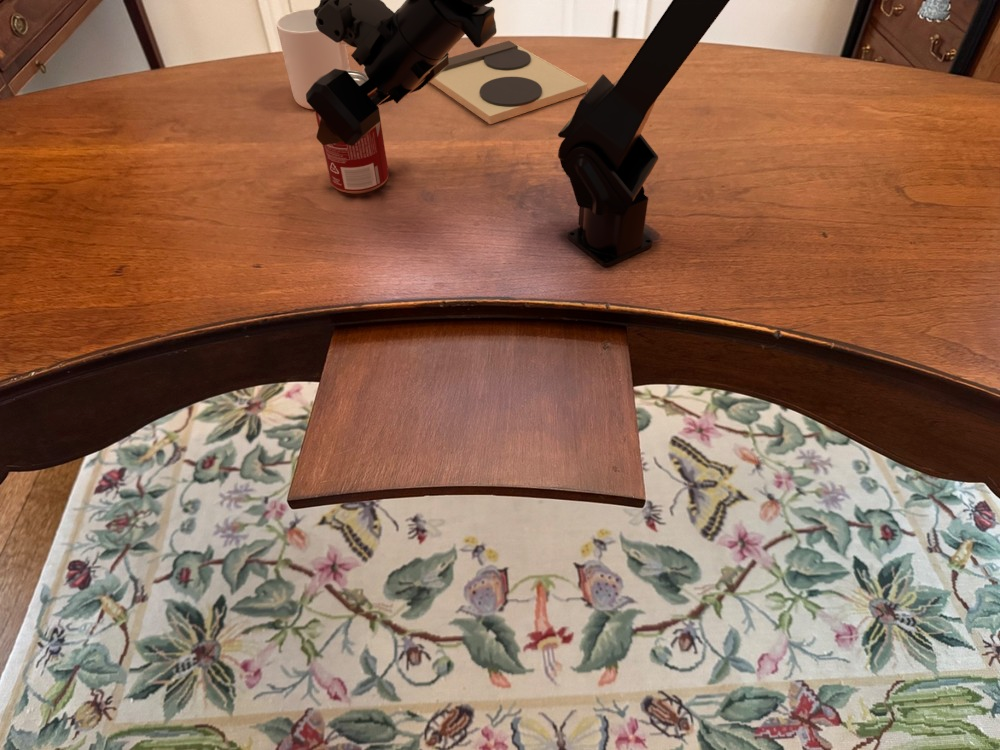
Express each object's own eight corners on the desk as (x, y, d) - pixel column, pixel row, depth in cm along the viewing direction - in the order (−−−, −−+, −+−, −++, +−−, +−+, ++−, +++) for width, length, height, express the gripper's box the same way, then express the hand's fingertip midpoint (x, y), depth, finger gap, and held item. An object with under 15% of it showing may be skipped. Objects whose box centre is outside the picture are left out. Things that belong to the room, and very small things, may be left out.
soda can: (385, 198, 81) (368, 94, 72) (326, 198, 81) (303, 95, 73) (392, 167, 86) (378, 66, 77) (337, 167, 86) (316, 68, 77)
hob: (587, 92, 98) (588, 79, 97) (490, 125, 92) (490, 112, 91) (513, 50, 109) (513, 38, 108) (422, 77, 103) (421, 64, 102)
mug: (387, 88, 101) (377, 11, 93) (368, 115, 95) (354, 35, 88) (308, 83, 103) (291, 6, 95) (284, 109, 97) (265, 30, 90)
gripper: (412, -70, 70) (339, 30, 82) (300, -10, 59) (233, 98, 70) (487, 24, 74) (406, 108, 85) (394, 100, 62) (315, 185, 73)
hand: (344, 122), depth 78 cm, fingers open, 9 cm apart
